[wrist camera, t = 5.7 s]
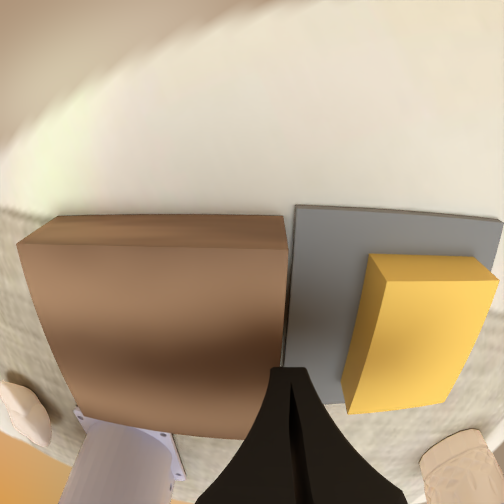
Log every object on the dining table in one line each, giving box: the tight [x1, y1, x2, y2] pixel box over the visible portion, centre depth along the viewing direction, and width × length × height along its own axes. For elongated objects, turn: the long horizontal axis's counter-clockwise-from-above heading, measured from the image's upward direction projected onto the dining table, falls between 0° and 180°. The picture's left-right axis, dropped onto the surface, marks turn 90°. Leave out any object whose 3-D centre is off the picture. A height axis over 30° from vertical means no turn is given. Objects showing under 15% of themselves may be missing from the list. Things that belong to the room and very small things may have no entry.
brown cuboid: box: [16, 214, 289, 440], centre depth 15 cm, size 11×11×4 cm
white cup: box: [419, 429, 504, 504], centre depth 18 cm, size 8×8×10 cm
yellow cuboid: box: [340, 253, 500, 415], centre depth 14 cm, size 8×6×2 cm
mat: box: [283, 205, 504, 404], centre depth 16 cm, size 12×11×1 cm
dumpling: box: [0, 380, 52, 447], centre depth 19 cm, size 7×5×4 cm
